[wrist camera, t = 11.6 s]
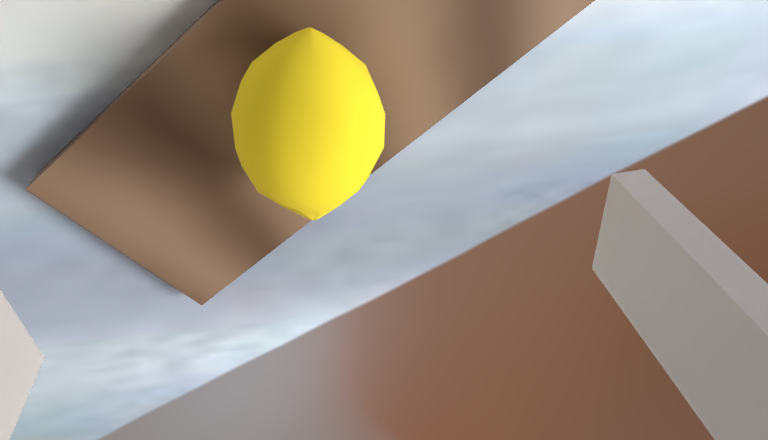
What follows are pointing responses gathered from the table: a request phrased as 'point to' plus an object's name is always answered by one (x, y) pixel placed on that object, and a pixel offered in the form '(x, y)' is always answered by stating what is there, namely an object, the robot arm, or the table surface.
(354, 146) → the lemon
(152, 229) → the cutting board
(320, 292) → the table surface
